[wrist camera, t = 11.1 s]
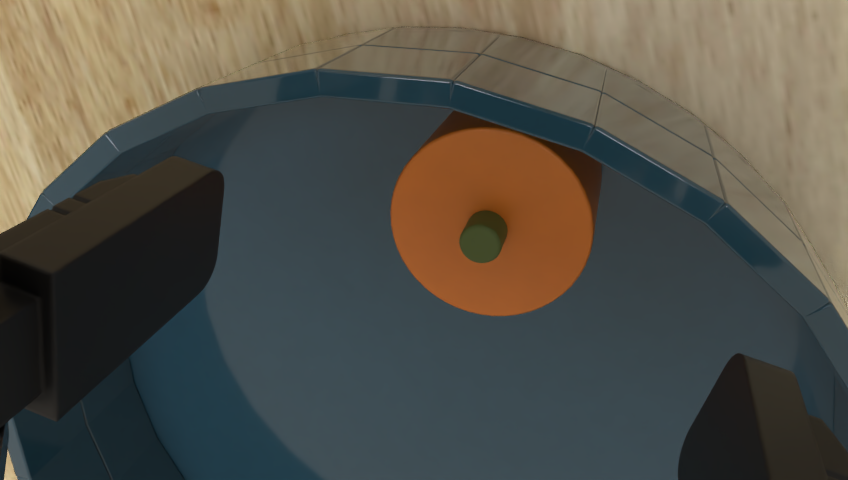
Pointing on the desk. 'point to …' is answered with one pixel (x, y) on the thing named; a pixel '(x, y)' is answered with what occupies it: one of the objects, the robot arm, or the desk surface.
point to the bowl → (420, 309)
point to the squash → (495, 216)
